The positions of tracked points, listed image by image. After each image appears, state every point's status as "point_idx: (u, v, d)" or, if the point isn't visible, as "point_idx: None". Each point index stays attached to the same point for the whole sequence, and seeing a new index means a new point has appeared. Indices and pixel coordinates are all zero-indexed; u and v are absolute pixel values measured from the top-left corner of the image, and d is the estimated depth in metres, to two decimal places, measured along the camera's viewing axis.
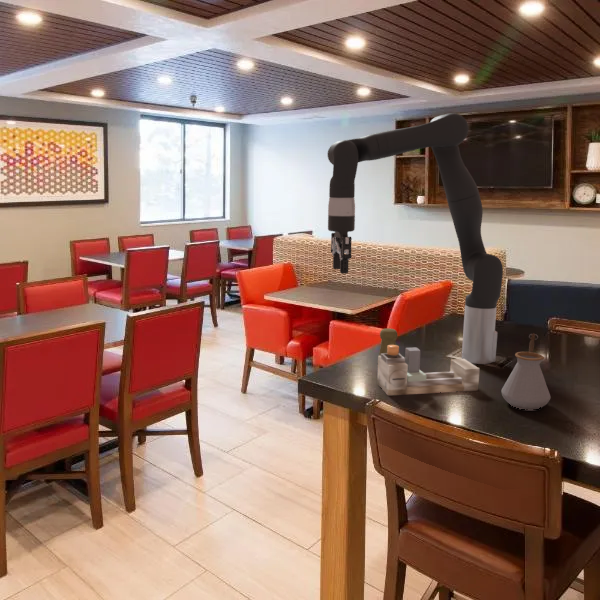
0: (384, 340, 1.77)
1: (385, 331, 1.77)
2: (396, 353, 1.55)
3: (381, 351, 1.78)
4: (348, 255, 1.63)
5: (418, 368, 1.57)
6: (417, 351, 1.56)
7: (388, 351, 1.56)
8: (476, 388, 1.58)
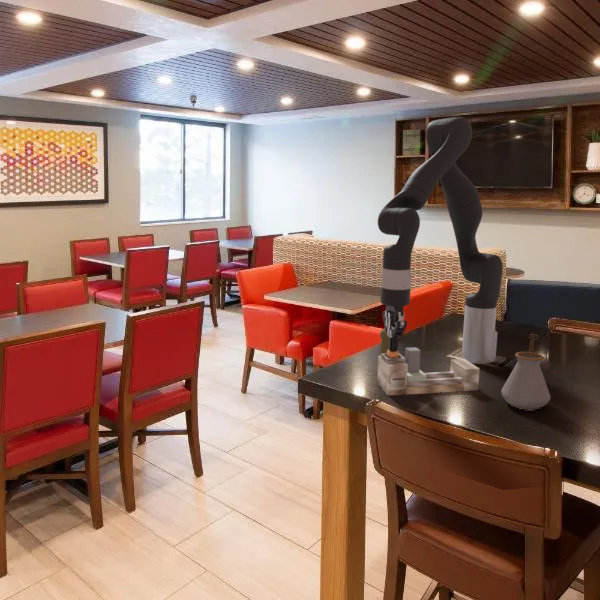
0: (384, 340, 1.77)
1: (385, 331, 1.77)
2: None
3: (381, 351, 1.78)
4: (399, 334, 1.53)
5: (418, 368, 1.57)
6: (417, 351, 1.56)
7: (388, 356, 1.56)
8: (476, 388, 1.58)
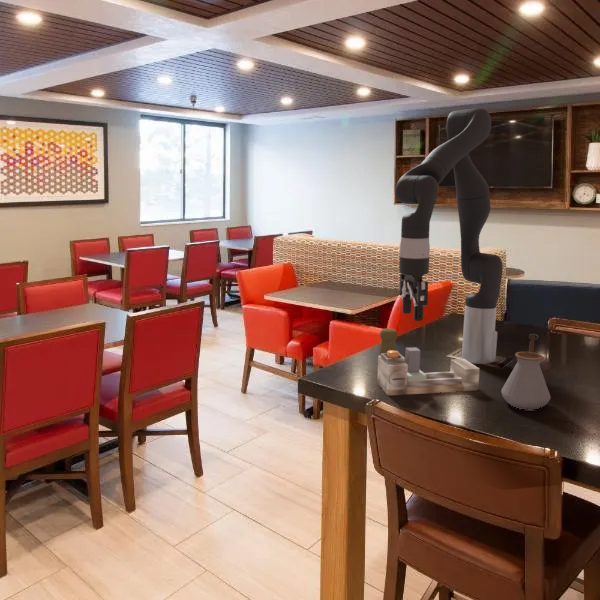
0: (384, 340, 1.77)
1: (385, 331, 1.77)
2: None
3: (381, 351, 1.78)
4: (424, 302, 1.48)
5: (418, 368, 1.57)
6: (417, 351, 1.56)
7: (388, 357, 1.56)
8: (476, 388, 1.58)
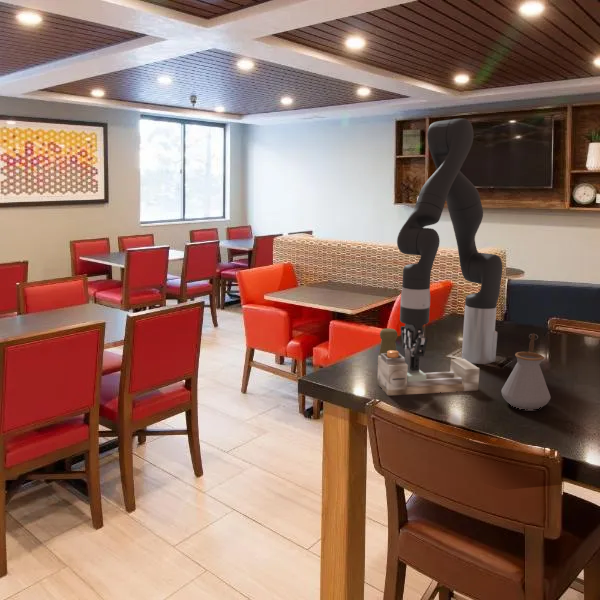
0: (384, 340, 1.77)
1: (385, 331, 1.77)
2: None
3: (381, 351, 1.78)
4: (420, 353, 1.53)
5: None
6: None
7: (388, 357, 1.56)
8: (476, 388, 1.58)
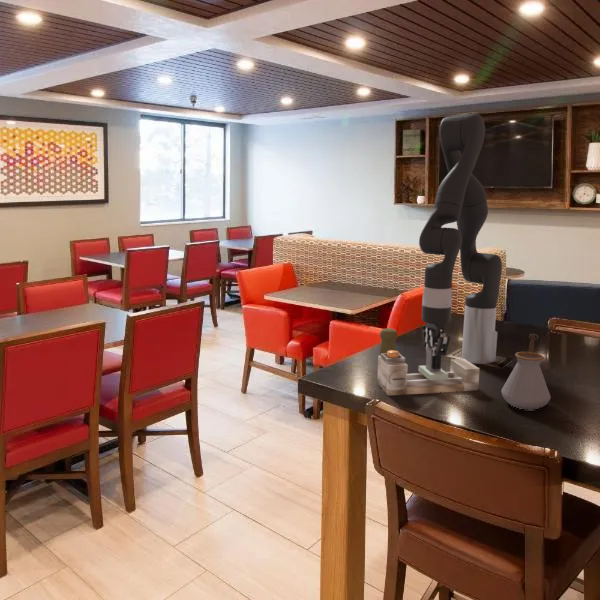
0: (384, 340, 1.77)
1: (385, 331, 1.77)
2: None
3: (381, 351, 1.78)
4: (442, 352, 1.54)
5: None
6: None
7: (388, 357, 1.56)
8: (476, 388, 1.58)
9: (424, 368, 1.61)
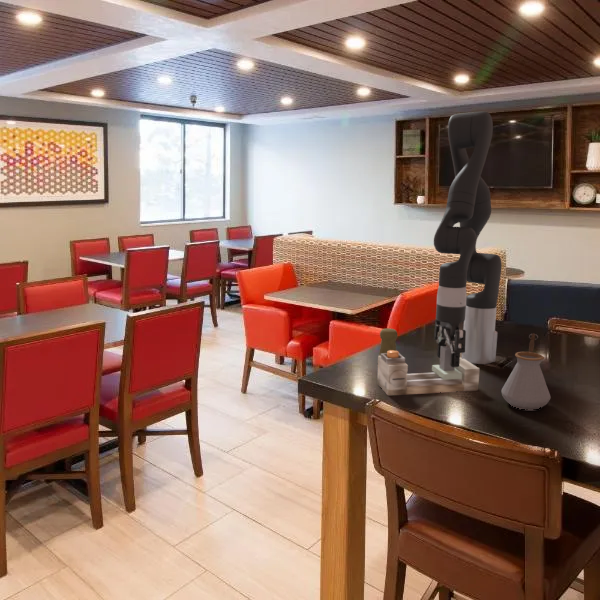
0: (384, 340, 1.77)
1: (385, 331, 1.77)
2: None
3: (381, 351, 1.78)
4: (462, 349, 1.53)
5: None
6: None
7: (388, 357, 1.56)
8: (476, 388, 1.58)
9: (437, 368, 1.61)
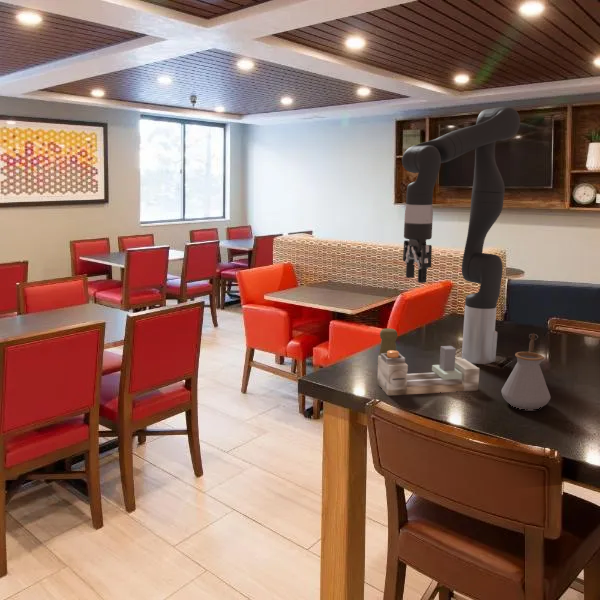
0: (384, 340, 1.77)
1: (385, 331, 1.77)
2: None
3: (381, 351, 1.78)
4: (428, 264, 1.58)
5: (453, 366, 1.59)
6: (452, 349, 1.58)
7: (388, 357, 1.56)
8: (476, 388, 1.58)
9: (437, 368, 1.61)
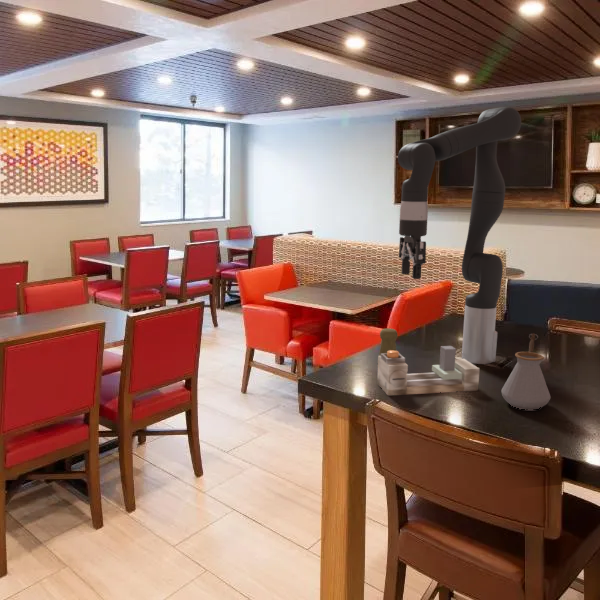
0: (384, 340, 1.77)
1: (385, 331, 1.77)
2: None
3: (381, 351, 1.78)
4: (422, 260, 1.60)
5: (453, 366, 1.59)
6: (452, 349, 1.58)
7: (388, 357, 1.56)
8: (476, 388, 1.58)
9: (437, 368, 1.61)
